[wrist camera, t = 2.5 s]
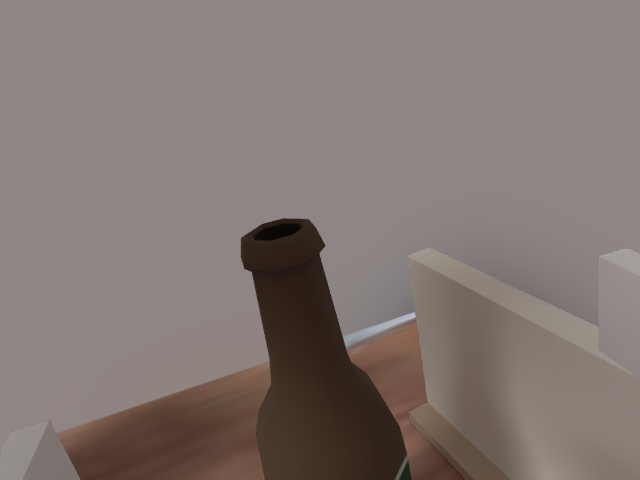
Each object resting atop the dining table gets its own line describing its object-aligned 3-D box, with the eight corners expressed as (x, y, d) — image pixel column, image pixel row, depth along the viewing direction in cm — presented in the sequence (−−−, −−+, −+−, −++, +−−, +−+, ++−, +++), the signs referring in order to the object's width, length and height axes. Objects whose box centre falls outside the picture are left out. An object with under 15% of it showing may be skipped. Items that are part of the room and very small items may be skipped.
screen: (409, 421, 41) (384, 264, 36) (465, 391, 43) (450, 239, 38) (639, 662, 24) (660, 430, 18) (716, 595, 26) (756, 367, 20)
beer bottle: (359, 706, 24) (240, 293, 16) (278, 589, 30) (159, 244, 22) (457, 593, 28) (407, 211, 19) (368, 509, 34) (299, 190, 26)
